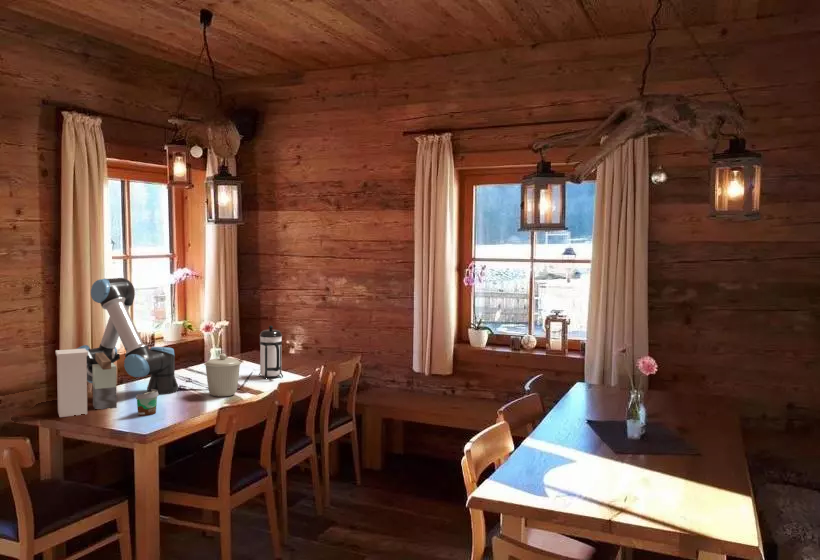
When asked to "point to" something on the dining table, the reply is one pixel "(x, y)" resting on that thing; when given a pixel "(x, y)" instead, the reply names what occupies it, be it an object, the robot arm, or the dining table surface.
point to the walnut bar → (103, 361)
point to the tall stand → (72, 382)
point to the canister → (222, 375)
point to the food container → (147, 403)
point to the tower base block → (104, 398)
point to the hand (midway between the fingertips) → (99, 352)
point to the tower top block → (103, 376)
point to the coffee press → (270, 353)
